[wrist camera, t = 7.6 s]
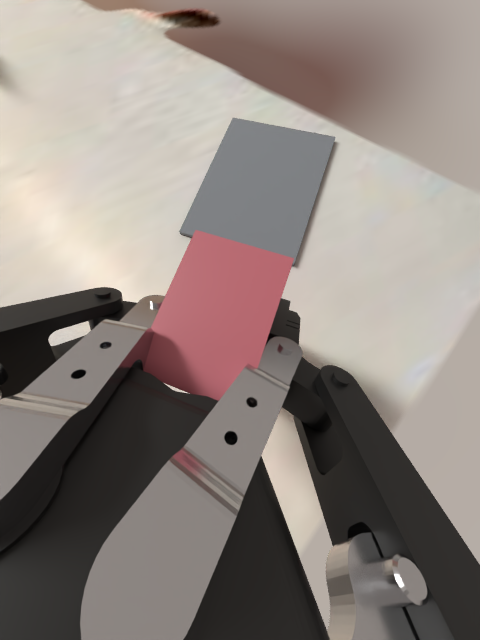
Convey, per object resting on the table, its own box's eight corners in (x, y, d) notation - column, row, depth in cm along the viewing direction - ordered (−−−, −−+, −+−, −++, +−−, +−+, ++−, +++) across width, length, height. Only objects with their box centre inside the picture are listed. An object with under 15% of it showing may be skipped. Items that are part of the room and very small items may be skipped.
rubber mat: (180, 234, 21) (179, 231, 21) (233, 121, 24) (232, 117, 24) (293, 266, 20) (294, 264, 19) (334, 141, 23) (335, 136, 22)
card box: (202, 368, 15) (131, 370, 6) (226, 305, 16) (195, 229, 7) (247, 385, 14) (242, 413, 6) (269, 320, 15) (294, 258, 7)
